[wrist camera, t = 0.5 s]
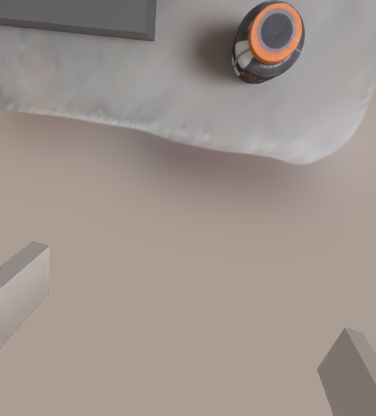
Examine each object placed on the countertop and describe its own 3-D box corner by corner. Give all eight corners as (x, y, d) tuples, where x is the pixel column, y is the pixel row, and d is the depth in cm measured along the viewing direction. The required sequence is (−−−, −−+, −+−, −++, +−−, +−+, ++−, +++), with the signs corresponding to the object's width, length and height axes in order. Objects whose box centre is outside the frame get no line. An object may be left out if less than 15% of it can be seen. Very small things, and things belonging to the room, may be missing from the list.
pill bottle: (233, 87, 32) (238, 80, 22) (229, 31, 30) (234, -7, 20) (283, 80, 31) (314, 68, 21) (283, 22, 29) (318, -23, 19)
